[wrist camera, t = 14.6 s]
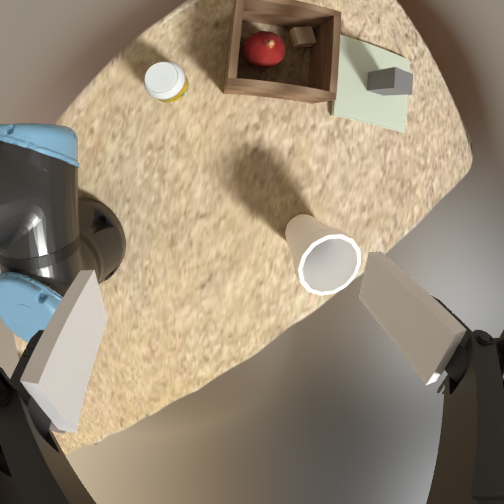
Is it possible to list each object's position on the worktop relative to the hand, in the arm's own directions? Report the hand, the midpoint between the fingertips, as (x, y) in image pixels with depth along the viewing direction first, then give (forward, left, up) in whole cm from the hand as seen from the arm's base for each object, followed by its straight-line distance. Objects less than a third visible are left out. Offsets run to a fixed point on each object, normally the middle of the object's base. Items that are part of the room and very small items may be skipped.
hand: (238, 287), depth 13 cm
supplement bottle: (-8, +13, -34) cm, 37 cm away
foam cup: (+15, -10, -34) cm, 38 cm away
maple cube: (+11, +23, -33) cm, 42 cm away
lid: (+25, +18, -34) cm, 46 cm away
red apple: (+5, +19, -34) cm, 39 cm away
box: (+7, +19, -33) cm, 39 cm away
